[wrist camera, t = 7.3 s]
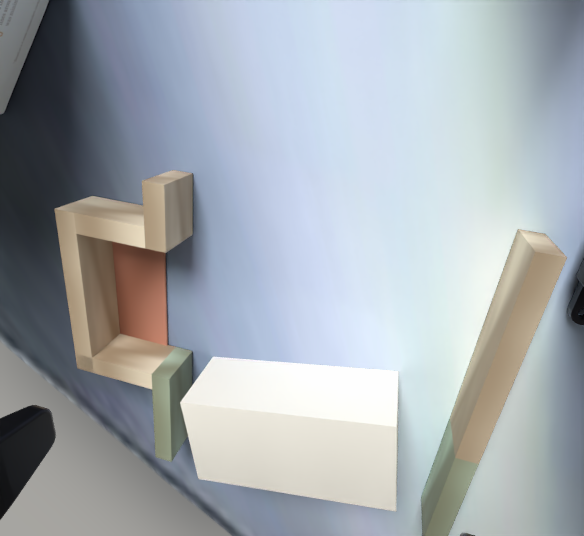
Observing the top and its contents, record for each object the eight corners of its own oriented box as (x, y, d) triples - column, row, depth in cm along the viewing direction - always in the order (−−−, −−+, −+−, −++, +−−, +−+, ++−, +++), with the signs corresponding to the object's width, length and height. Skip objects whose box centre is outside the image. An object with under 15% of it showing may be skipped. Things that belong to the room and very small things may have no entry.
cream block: (398, 368, 20) (396, 426, 17) (397, 444, 22) (396, 511, 19) (215, 354, 23) (180, 402, 20) (228, 423, 25) (198, 478, 21)
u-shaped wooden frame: (545, 233, 16) (567, 257, 14) (439, 502, 23) (443, 547, 21) (87, 155, 20) (47, 163, 18) (114, 406, 27) (87, 435, 24)
